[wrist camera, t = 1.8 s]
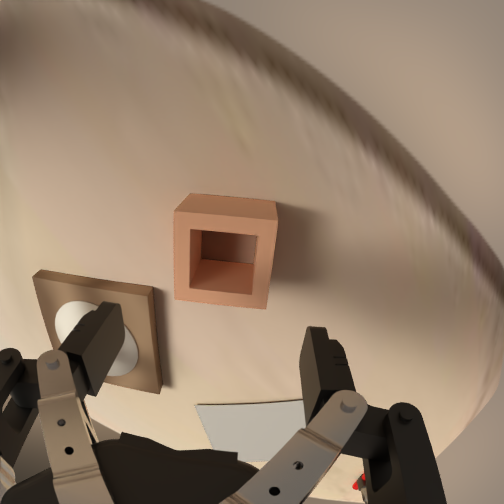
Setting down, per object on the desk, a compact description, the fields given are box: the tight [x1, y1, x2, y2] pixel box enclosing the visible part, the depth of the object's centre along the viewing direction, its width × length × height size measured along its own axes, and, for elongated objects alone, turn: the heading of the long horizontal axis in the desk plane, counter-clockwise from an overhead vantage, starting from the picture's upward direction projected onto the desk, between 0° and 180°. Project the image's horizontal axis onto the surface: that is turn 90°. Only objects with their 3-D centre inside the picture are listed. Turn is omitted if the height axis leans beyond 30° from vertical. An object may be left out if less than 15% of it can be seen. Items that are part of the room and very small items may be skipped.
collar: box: [174, 193, 278, 309], centre depth 21 cm, size 6×6×4 cm
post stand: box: [32, 270, 163, 394], centre depth 23 cm, size 12×12×8 cm
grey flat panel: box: [195, 400, 306, 462], centre depth 31 cm, size 23×25×1 cm
